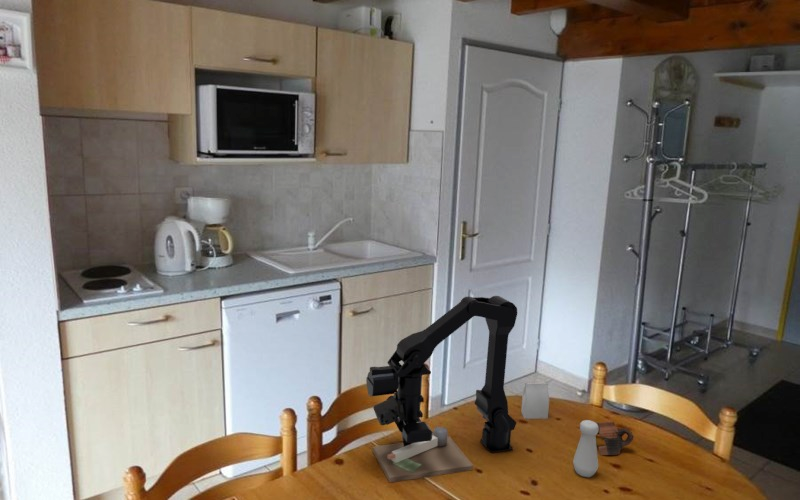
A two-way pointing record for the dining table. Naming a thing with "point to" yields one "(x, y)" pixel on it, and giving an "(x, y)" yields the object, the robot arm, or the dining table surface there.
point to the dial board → (422, 462)
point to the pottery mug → (613, 438)
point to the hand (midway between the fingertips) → (406, 448)
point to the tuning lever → (420, 446)
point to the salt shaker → (587, 450)
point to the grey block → (535, 401)
